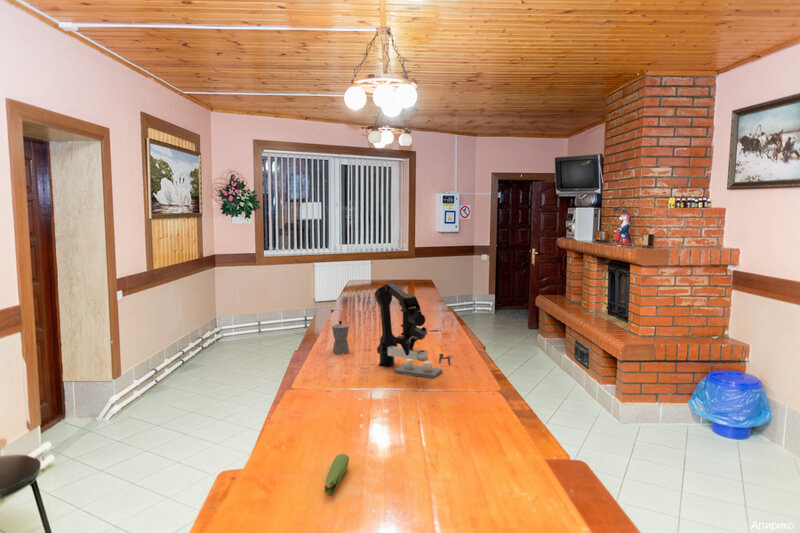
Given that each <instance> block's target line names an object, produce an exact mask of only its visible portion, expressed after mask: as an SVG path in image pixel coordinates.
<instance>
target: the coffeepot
mask: <svg viewBox="0 0 800 533" xmlns="http://www.w3.org/2000/svg"><path fill="white" fill-rule="evenodd" d="M342 322H343V321H342V320H339V321H338V324H337V323H336V324H333V325H332V326H331V330H332V333H333V334H332V335H333V338H334V341H333V347H332V348H333V349H332V353H333V352H334V353H335V354H334V353H333V354H334V355H344V354H343V353H346V354H349V353H350V348H349V342H348V340H347V338H348V336H349V328H350V325H348V324H345V323H342Z"/></svg>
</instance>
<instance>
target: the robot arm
mask: <svg viewBox="0 0 800 533" xmlns="http://www.w3.org/2000/svg"><path fill="white" fill-rule="evenodd" d="M374 295H375V300H376V302H377V304H378V306H379V307H380V308H379V310H380V319H381V321H380V323H381V330H382V334H381V337H380V338H379V345H378V346H377V348H376V351H377V354H379V363H378V366H382V367H383V366H384V367H391V366H393V365H394V364H396V362H395V357H394V356H388V347H390V346H394V347H398V345H400V346H401V347H402V348H403V350H404V352H405V354H406V355H409V349H414V347H415V343H416V342H417V341H418V340H420V341H422V340H424V339H425V338H426V335H428V330H427V327H425V326H424V324H425V322H426V317H425V315H424V314H422V311H421V306H420V304H419V301H418V298H417V297H416V296H415V295H414V294H411V293H406V292H405V291H404V290H403V289H401V288H400V287H399V286H398V285H396V283H394V282H390V283H385V284H384V285H383V286H381V287H379V288H377V289H376V291H375V293H374ZM393 297H394V298H395V299H396V300H397V301H398V305H399V306H400V307H401V309H400V312H402V324H400V327H401V328H402V332H401V333H400V335H398V336H395V334H393V327H392V319H391V318H392V317H391V309H390V307H391V306H390V305H391V302H392V301H393ZM422 326H423V327H422ZM420 327H421V328H420Z"/></svg>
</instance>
